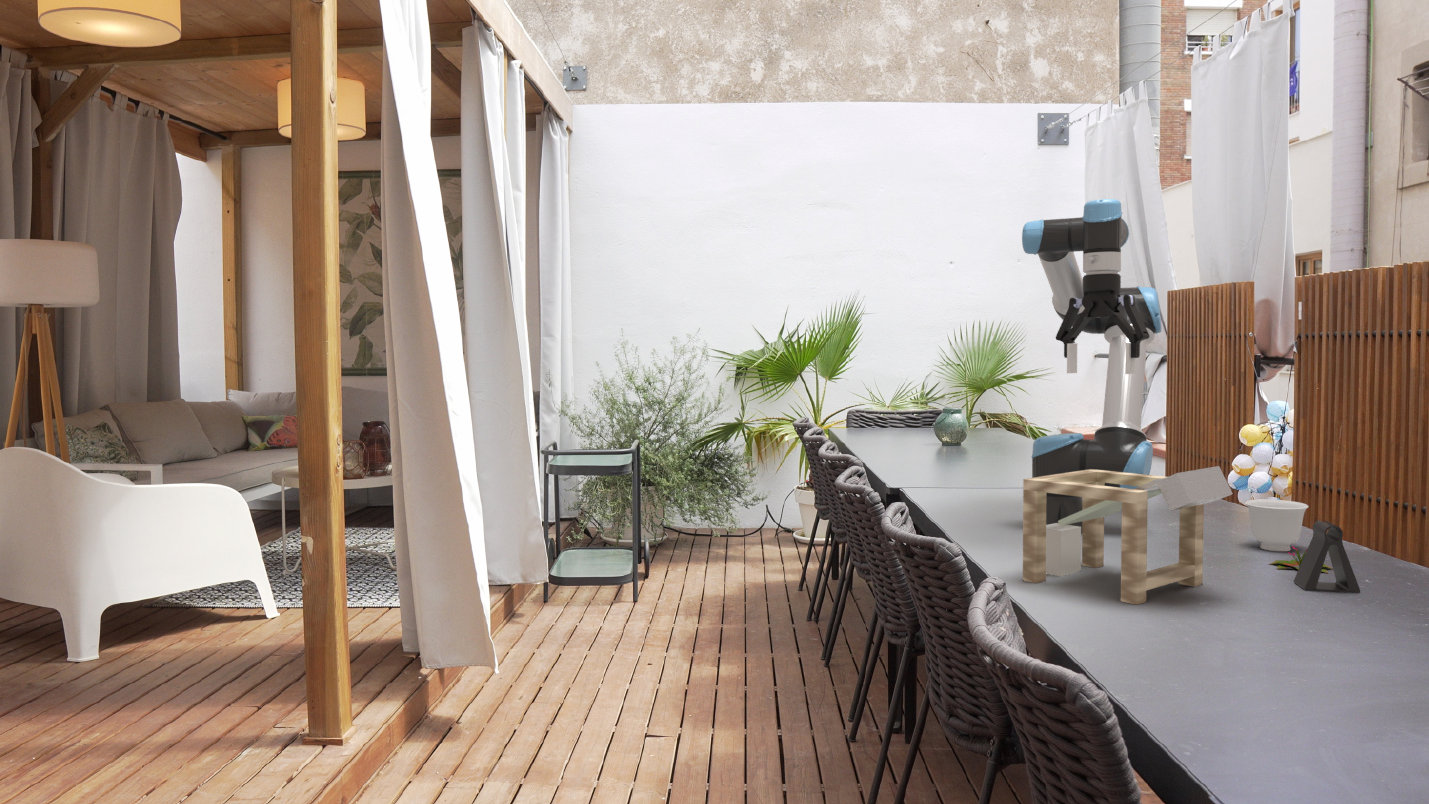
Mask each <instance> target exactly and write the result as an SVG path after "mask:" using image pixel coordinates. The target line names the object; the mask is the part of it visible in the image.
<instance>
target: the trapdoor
mask: <svg viewBox="0 0 1429 804" xmlns="http://www.w3.org/2000/svg"><path fill="white" fill-rule="evenodd" d="M1165 477H1166V478H1162V479H1156V480H1153V481H1151V482H1149V483H1147V484H1144V485H1142V486H1140V487H1137V488H1135V489H1136V490H1145V491H1148V500H1149V499H1151V498H1154V497H1156V496H1159V495H1161V494H1162V497H1163V499H1164V502H1165V503H1166V506H1167V507H1168V510H1169V511H1170V512H1173V511H1177V510H1180V509H1182V508H1187V507H1192V506H1196V505H1201V504H1204V505H1205V504H1211V503H1214V502H1216V501H1218V500H1219V501H1220V500H1221V499H1224V498H1226V497H1229V496H1231V495H1233V492H1232V489H1231V486H1229V483H1228V481H1227V479H1226V477H1225V475H1224V473H1223V471H1222V469H1221V467H1220V465H1217V466H1211V467H1205V468H1199V469H1195V470H1188V471H1182V472H1176V473H1174V474H1172V475H1169V476H1165ZM1118 512H1122V502H1118V501H1110V500H1104V501H1102V502H1100V503H1098V504H1096V505H1093V506H1091V507H1089V508H1086V509H1084V510H1082V511H1079V512H1077V513H1075V514H1072V515H1070V516H1068V517H1065V518H1063V519H1061V520H1059V521H1058V522H1059V525H1060V526H1062V525H1066V524H1071V523H1076V522H1081V521H1086V520H1091V519H1096V518H1101V517H1104V518H1105V517H1108V516H1111V515H1113V514H1116V513H1118Z"/></svg>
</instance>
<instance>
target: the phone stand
mask: <svg viewBox="0 0 1429 804" xmlns="http://www.w3.org/2000/svg"><path fill="white" fill-rule="evenodd" d="M1312 531H1313V532H1312V533H1313V534H1312V536H1311V537H1312V538H1311V540H1310V542H1309V545H1308V547H1307V549H1306V550H1307V551H1306V550H1305V551H1306V553H1305V556H1304V558H1303V560H1302V563H1301V565H1300V567H1299V566H1298V568H1299V570H1298V569H1297V572H1296V574H1295V577H1294V579H1293V582H1294V584H1296V585H1297V586H1299V587H1300V588H1302V589H1303V590H1304V591H1307V592H1327V593H1328V592H1329V593H1331V592H1333V593H1345V594H1347V593H1348V594H1360V593H1361V589H1360V586H1359V583H1358V581H1357V578H1356V576H1355V573H1354V571H1353V568H1352V565H1351V562H1350V560H1349V557H1348V555H1347V551H1346V548H1345V547H1344V544H1343V536H1344V531H1343V529H1342V528H1341V527H1340V526H1337V525H1335V524H1333V523H1331V522H1329V521H1327V520H1324V521H1322V520H1319V519H1318V520H1316V521H1315V522H1314V523H1313V525H1312ZM1327 555H1329V558H1330V562H1331V568H1333V569H1332V570H1333V574H1334V578H1335V582H1327V581H1326V582H1323V581H1322V582H1321V581H1319V579H1320V576H1321V573H1322V572H1321V570H1322V569H1323V568H1322V567H1323V564H1325V561H1326V558H1327Z"/></svg>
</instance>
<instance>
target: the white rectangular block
mask: <svg viewBox="0 0 1429 804" xmlns="http://www.w3.org/2000/svg"><path fill="white" fill-rule="evenodd" d="M1081 567H1082V533H1081V527H1079V526H1073V525H1062V526H1060V525H1059V523H1054V524H1049V525H1046V573H1047V574H1046V575H1048V574H1051V575H1050V576H1053V575H1055V576H1054V577H1058V576H1060V577H1059V578H1062V577H1066V576H1069V574H1070V575H1073V574H1076V573H1081V570H1082V568H1081ZM1065 575H1066V576H1065ZM1061 576H1062V577H1061Z"/></svg>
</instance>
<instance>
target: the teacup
mask: <svg viewBox="0 0 1429 804" xmlns="http://www.w3.org/2000/svg"><path fill="white" fill-rule="evenodd" d="M1244 503H1245V505H1246V506H1247V509H1248V513H1249V521H1250V529H1251V533H1252V535H1253V538H1254V539H1255V540H1257V542H1260V549H1262V550H1265V551H1269V552H1279V553H1280V552H1290V551H1291V546H1292V545H1293V544H1295V543H1296V542H1297V541H1298V540H1299V539H1300V536H1301V533H1302V528H1303V527H1302V526H1303V521H1304V516H1305V513H1306V510H1307V509H1308V508H1309V505H1308V504H1306V503H1303V502H1299V501H1293V500H1283V499H1265V498H1264V499H1262V498H1258V499H1248V500H1246V501H1245V502H1244Z"/></svg>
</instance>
